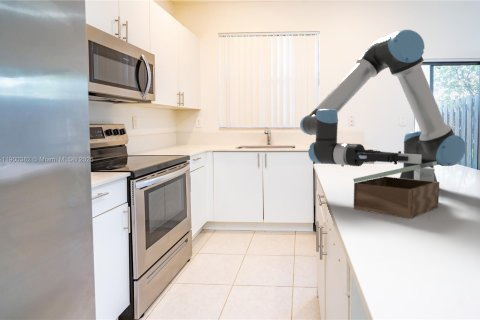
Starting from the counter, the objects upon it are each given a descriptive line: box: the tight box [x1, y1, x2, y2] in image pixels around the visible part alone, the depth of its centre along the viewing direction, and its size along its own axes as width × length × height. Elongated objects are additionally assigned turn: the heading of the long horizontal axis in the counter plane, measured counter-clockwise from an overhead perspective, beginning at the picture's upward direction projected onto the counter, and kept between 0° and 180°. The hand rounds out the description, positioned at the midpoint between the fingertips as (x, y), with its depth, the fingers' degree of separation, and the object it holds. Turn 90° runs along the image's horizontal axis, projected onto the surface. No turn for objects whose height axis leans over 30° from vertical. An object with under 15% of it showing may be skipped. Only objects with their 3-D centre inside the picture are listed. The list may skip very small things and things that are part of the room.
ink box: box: [414, 167, 435, 181], centre depth 138 cm, size 9×5×12 cm, turn 168°
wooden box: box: [353, 176, 440, 219], centre depth 126 cm, size 21×18×8 cm
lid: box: [352, 161, 437, 184], centre depth 125 cm, size 21×20×1 cm
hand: (420, 159), depth 119 cm, fingers closed
